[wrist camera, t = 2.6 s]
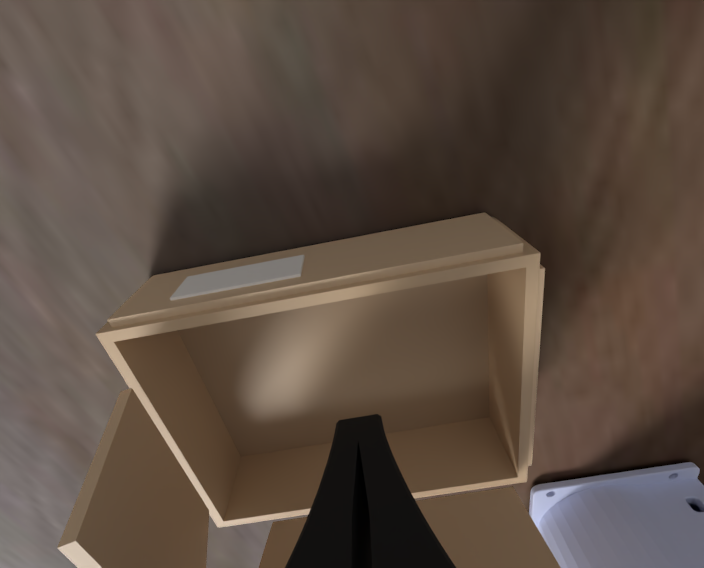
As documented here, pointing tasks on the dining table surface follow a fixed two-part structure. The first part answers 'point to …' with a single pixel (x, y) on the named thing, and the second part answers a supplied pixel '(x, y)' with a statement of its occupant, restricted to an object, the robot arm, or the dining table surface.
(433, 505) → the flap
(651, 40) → the dining table surface
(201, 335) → the carton
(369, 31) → the dining table surface
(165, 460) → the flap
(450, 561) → the robot arm
